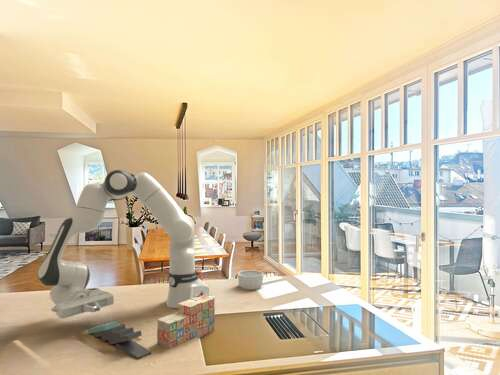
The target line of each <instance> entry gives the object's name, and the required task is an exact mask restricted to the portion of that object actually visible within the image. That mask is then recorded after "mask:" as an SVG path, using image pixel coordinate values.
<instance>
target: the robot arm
mask: <svg viewBox="0 0 500 375" xmlns="http://www.w3.org/2000/svg"><path fill="white" fill-rule="evenodd" d="M129 195H133V196H135V197H136V198H137V199H138V200H139V201H140V202H141V204H142V205H144V207H145V208H146V209H147V210H148V211H149V213H150V214H151V215H152V216H153V217H154V219H155V220H156V221H157V222H158V224H159V225H160V227H161V228H162V230H164V231H165V233H166V234H167V236H168V237H169V255H168V256H169V272H168V285H169V286H168V291H167V292H168V293H167V299H166V303H165V305H166V306H167V307H168V308H173V309H178V303H181V302H184V301H187V300H190V299H192V298H195V297H199V296H207V297H210V298H214V300H215V299H216V297H215V295H214V294H211V293H210V287H209V286H208V285H209V284H207V283H206V282H204V281H203V280H202V279H200V278H199V276H202V275H203V272H202V270H196V269H195V268H196V265H195V262H196V253H195V251H196V245H195V244H196V243H195V242H196V238H195V237H196V232H195V231H196V230H195V229H196V226H195V222H194V219H193V218H192V217H191V216H189V215H187V214H185V213H184V211H183V210H182V209H181V208H180V206H179V205H178V204H177V202H176V200H175V199H174V198H173V197H172V196H171V194H170V193H168V192H167V190H166V188H164V187H163V186H162V184H160V183H159V182H158V181H157V180H156V179H155V178H154V177H153V176H152V175H151V174H149V173H147V172H144V171H143V172H139V173H137V174H133V173H130V172H128V171H125V170H122V169H121V170H120V169H116V170H112V171H109V173H108V174H107V175H106V176H105V179H104V182H103V183H101V184H100V183H99V184H98V183H88V184H86V185H85V186H84V187H83V189H82V190H81V193H80V195H79V197H78V200H77V203H76V207H75V209H74V212H73V213H72V215H71V216H70V217H68V218H66V219H65V220H63V222H62V223H61V225H60V227H59V229H58V230H57V232H56V234H55V237H54V238H53V241H52V243H51V246H50V248H48V249H49V250H48V252H47V254H46V256H45V258H44V259H43V261H42V262H41V264H40V265H39V268H38V271H37V278H38V280H39V282H40V283H41V284H42V285H44V286H46V287H52V288H51V289H50V291H49V296H50V300H51V301H52V303H53V304H54V305H55V306H53V307H51V309H50V310H51V312H53V313H55V314H56V316H58V318H60V319H66V318H70V317H73V316H77V315H80V314H84V313H89V312H91V313H95V312H99V311H101V309H102V308H104V307H108V306H111V305H113V304H114V303H115V302H114V301H115V297H114V294H113V293H111V292H109V291H106V290H101V288H100V287H94V288H87V286H88V284H89V282H90V276H91V273H90V269H89V267H88V265H87V264H86V263H84V262H79V261H71V260H63V259H62V257H63V254H64V251H65V249H66V248H67V245H68V243H69V240H71V238H73V237H74V236H76V235H79V234H83V233H84V234H85V233H90V232H93V231H94V230H96V229H98V227H100V226H101V224H102V223H103V218H104V215H105V211H106V208H107V205H108V202H110V201H121V200H124V199H126V198H127V197H128V196H129Z"/></svg>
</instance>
